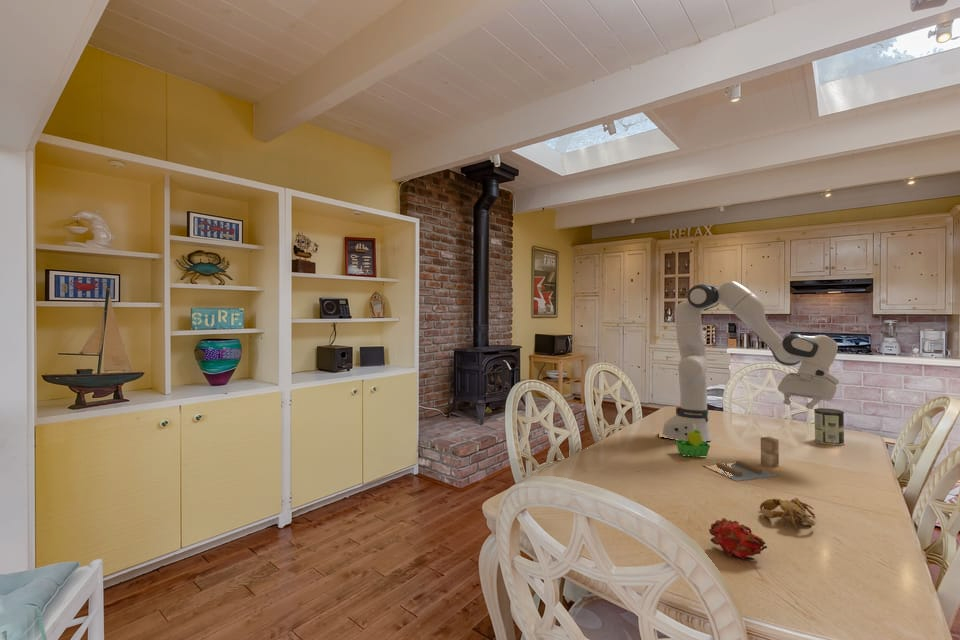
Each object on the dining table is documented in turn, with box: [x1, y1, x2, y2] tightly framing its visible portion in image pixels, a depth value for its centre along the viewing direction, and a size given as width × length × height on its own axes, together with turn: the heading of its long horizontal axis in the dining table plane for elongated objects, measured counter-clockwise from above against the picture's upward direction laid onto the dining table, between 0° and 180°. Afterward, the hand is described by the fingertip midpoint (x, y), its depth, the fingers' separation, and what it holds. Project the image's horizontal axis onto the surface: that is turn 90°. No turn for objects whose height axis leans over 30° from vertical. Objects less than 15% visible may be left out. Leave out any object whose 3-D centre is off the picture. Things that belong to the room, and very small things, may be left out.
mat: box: [715, 460, 779, 482], centre depth 157 cm, size 18×16×2 cm
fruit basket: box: [675, 430, 711, 457], centre depth 175 cm, size 11×9×11 cm
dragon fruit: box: [708, 517, 768, 561], centre depth 102 cm, size 8×8×12 cm
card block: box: [760, 436, 780, 468], centre depth 163 cm, size 4×4×10 cm
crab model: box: [759, 497, 816, 529], centre depth 119 cm, size 16×13×6 cm
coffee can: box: [813, 407, 845, 446], centre depth 190 cm, size 10×10×14 cm
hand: (797, 406), depth 165 cm, fingers open, 8 cm apart
